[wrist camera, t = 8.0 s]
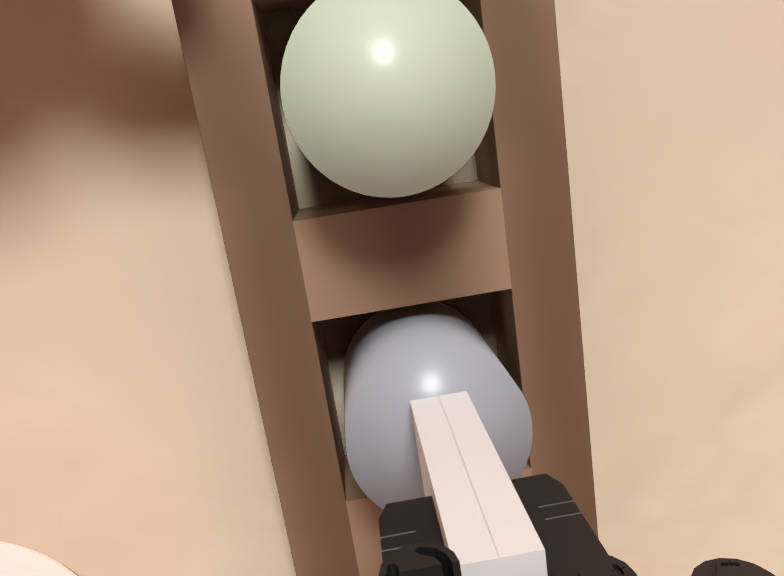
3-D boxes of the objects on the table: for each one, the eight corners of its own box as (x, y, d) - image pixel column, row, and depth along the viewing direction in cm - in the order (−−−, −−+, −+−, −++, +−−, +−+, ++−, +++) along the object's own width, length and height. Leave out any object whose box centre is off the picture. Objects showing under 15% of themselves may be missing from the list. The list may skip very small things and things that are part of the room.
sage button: (310, 193, 20) (301, 212, 15) (280, 26, 19) (260, -12, 14) (464, 168, 21) (506, 180, 16) (444, 2, 19) (482, -44, 14)
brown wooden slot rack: (340, 709, 26) (341, 782, 23) (182, -48, 19) (154, -81, 16) (583, 662, 26) (613, 728, 23) (512, -94, 19) (543, -134, 17)
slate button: (356, 448, 23) (362, 538, 18) (332, 312, 21) (330, 368, 16) (496, 423, 23) (541, 506, 18) (479, 288, 22) (522, 335, 17)
